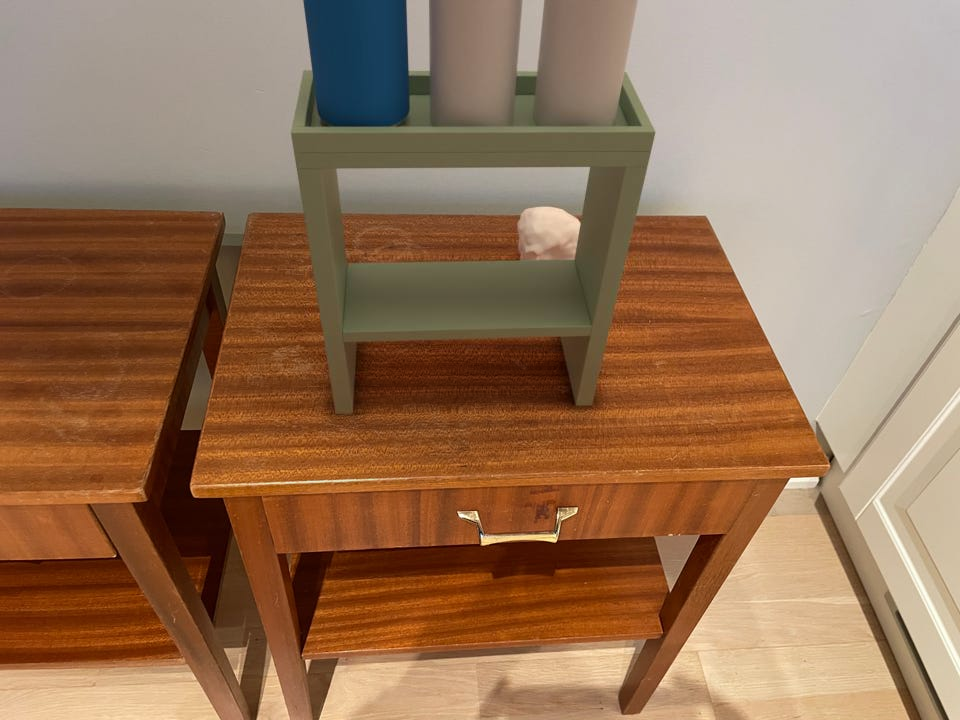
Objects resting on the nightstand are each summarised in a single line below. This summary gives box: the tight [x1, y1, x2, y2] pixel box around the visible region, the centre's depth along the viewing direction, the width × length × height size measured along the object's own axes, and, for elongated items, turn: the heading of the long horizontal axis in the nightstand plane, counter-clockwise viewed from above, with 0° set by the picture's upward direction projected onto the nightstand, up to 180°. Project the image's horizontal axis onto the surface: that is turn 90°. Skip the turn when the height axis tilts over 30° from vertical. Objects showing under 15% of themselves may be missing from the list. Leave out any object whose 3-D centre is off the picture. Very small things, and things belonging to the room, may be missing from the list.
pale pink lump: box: [516, 206, 581, 260], centre depth 81 cm, size 6×8×12 cm
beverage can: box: [302, 0, 410, 127], centre depth 48 cm, size 6×6×12 cm
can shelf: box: [290, 0, 656, 170], centre depth 49 cm, size 24×9×13 cm, turn 94°
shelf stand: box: [296, 166, 648, 415], centre depth 63 cm, size 24×9×26 cm, turn 94°
